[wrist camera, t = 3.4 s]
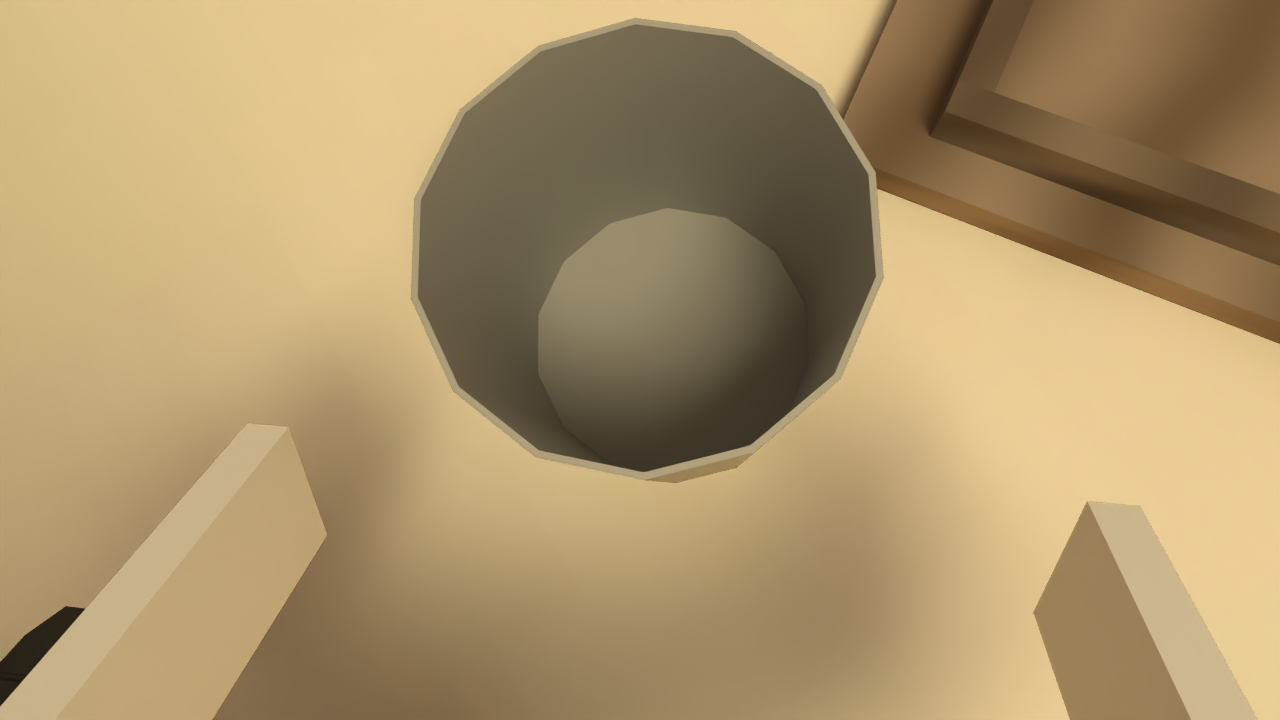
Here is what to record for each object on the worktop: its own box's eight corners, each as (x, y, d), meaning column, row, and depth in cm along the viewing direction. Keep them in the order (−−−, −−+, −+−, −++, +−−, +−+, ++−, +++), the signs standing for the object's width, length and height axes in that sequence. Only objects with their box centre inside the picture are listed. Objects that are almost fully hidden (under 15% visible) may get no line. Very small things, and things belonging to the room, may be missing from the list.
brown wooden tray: (823, 167, 23) (837, 126, 21) (1011, -249, 25) (1046, -336, 23) (1441, 405, 21) (1548, 393, 18) (1604, -82, 22) (1725, -159, 20)
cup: (495, 287, 24) (342, 147, 14) (726, 167, 24) (734, -57, 14) (612, 530, 22) (532, 566, 12) (860, 403, 22) (977, 338, 12)
